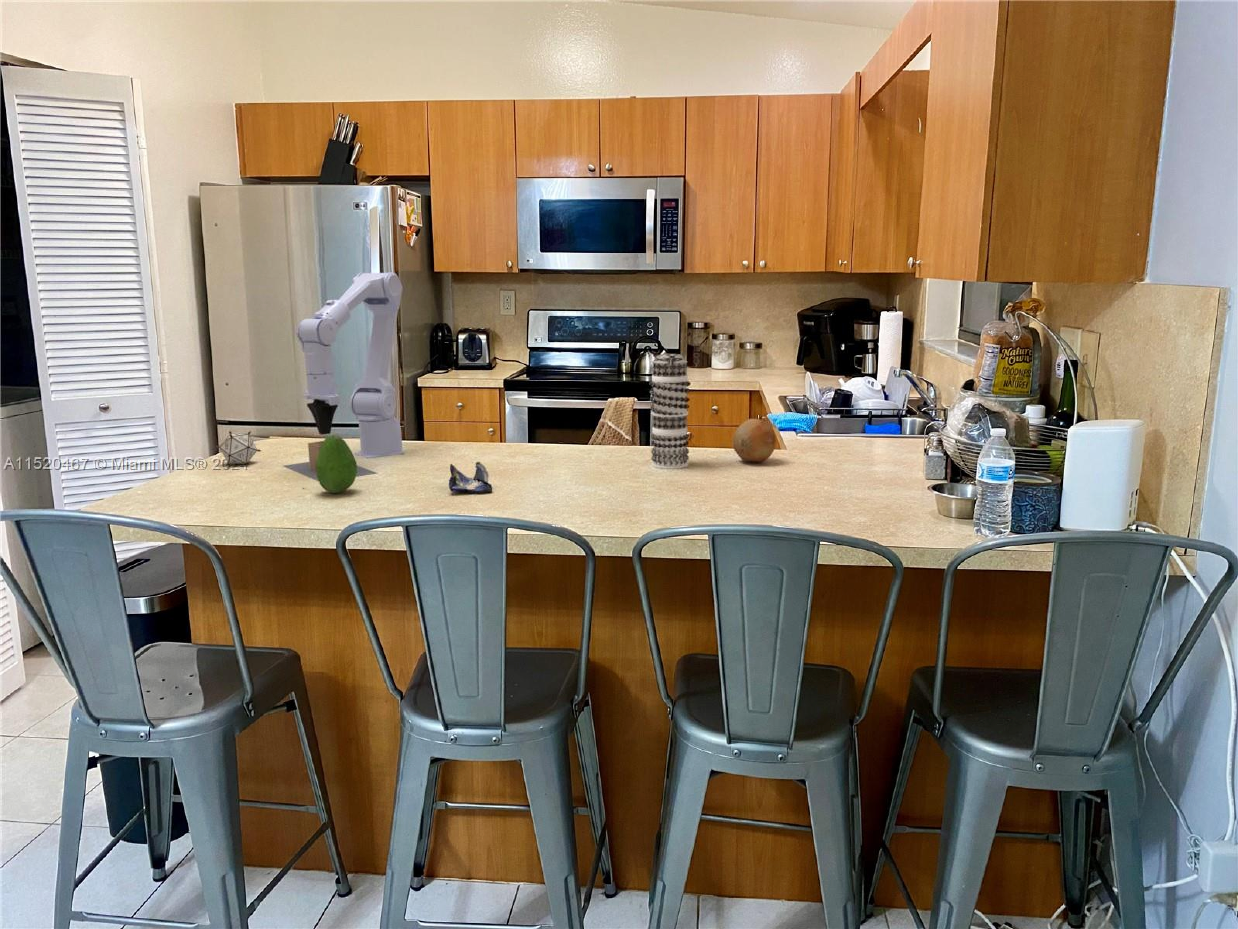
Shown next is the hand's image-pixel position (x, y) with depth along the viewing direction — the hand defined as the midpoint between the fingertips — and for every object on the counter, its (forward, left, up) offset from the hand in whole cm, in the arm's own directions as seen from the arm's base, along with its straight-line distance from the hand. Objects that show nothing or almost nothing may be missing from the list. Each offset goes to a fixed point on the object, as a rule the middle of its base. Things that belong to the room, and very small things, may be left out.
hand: (324, 433), depth 204 cm
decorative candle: (-60, +49, -9) cm, 78 cm away
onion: (-76, +60, -9) cm, 97 cm away
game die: (+13, -20, -9) cm, 25 cm away
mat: (0, +1, -8) cm, 8 cm away
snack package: (-15, +38, -9) cm, 41 cm away
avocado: (+7, +22, -9) cm, 25 cm away
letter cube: (0, -3, -5) cm, 6 cm away
